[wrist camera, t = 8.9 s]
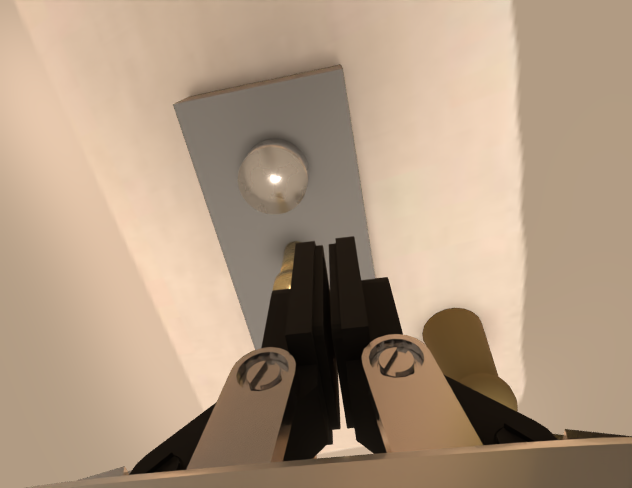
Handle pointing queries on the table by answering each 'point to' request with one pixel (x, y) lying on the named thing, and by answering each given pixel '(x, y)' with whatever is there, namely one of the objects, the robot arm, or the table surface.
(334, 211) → the mount
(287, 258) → the brass shaft
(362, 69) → the table surface
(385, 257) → the table surface
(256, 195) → the knob
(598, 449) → the robot arm
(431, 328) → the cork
